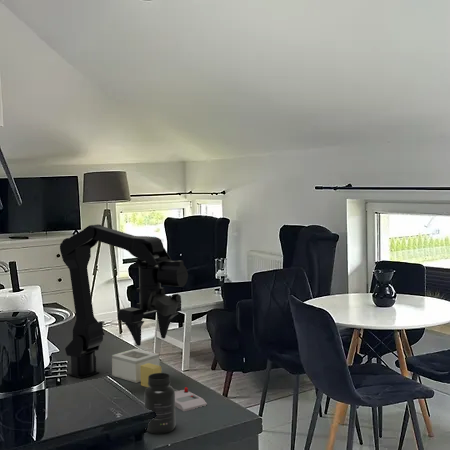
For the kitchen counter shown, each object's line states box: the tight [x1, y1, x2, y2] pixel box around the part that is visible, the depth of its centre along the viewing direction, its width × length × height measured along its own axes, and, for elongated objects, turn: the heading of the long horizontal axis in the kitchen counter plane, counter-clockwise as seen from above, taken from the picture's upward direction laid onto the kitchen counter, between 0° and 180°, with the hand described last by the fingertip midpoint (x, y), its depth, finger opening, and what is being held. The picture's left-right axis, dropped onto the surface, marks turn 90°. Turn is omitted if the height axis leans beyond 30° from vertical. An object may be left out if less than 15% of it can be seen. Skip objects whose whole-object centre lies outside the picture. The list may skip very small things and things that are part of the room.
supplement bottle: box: [143, 372, 176, 435], centre depth 138 cm, size 7×7×12 cm
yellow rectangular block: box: [140, 363, 163, 388], centre depth 167 cm, size 3×5×6 cm, turn 50°
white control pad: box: [173, 386, 208, 412], centre depth 155 cm, size 7×16×3 cm, turn 35°
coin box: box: [111, 348, 161, 384], centre depth 176 cm, size 9×10×6 cm
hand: (151, 341), depth 167 cm, fingers open, 9 cm apart
